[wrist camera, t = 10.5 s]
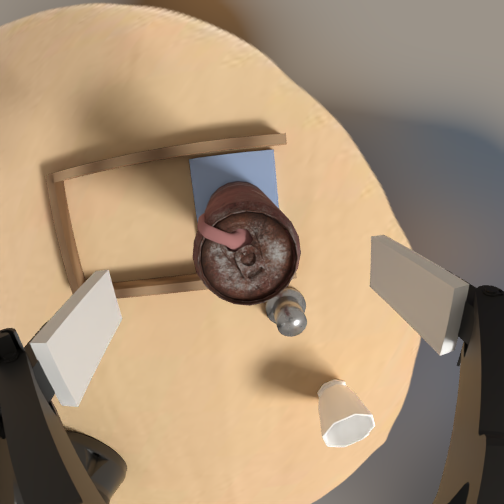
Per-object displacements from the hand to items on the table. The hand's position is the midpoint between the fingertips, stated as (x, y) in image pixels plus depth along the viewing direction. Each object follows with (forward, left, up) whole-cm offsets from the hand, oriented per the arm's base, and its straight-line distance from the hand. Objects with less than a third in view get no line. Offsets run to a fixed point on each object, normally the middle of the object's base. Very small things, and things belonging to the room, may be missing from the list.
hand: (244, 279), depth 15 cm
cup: (+11, -27, -17) cm, 34 cm away
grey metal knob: (+4, -11, -17) cm, 20 cm away
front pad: (0, 0, -17) cm, 17 cm away
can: (0, 0, -16) cm, 16 cm away
